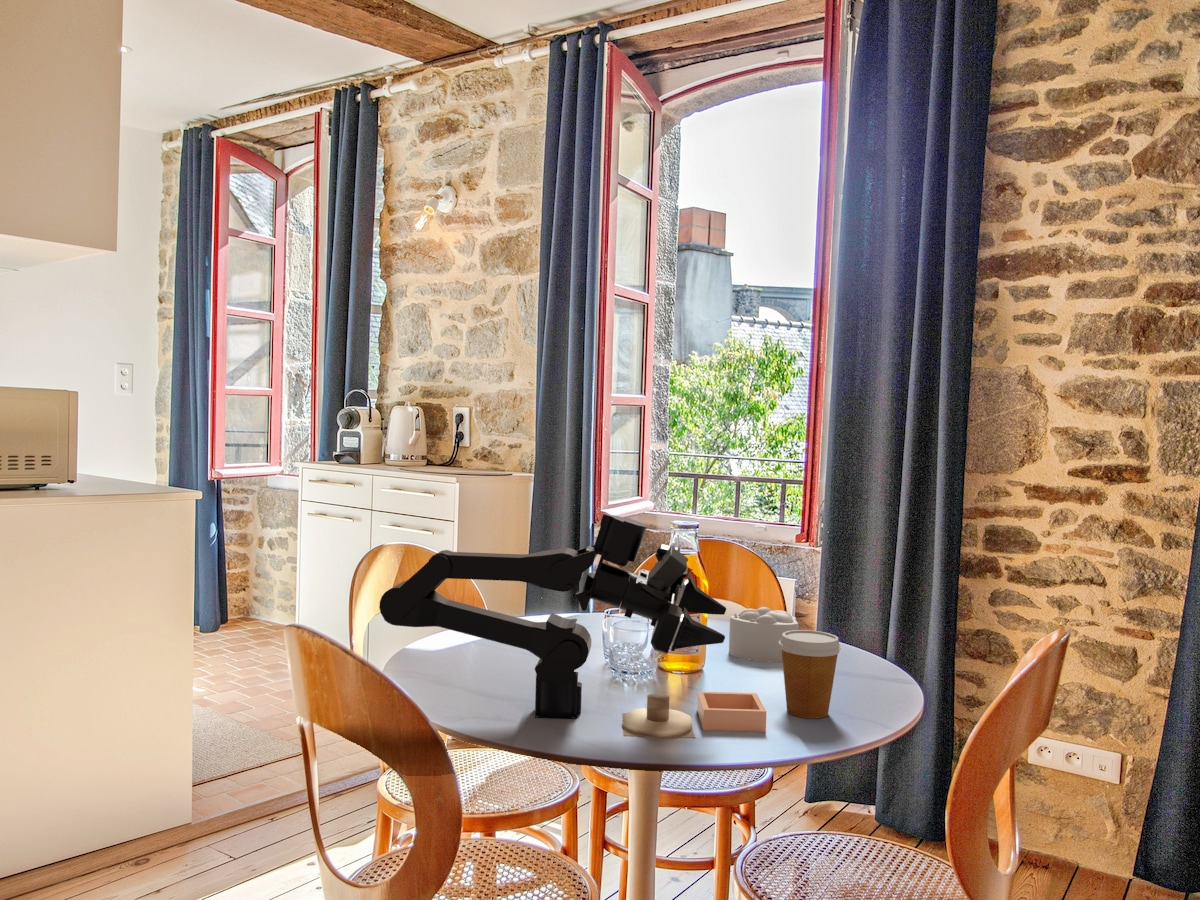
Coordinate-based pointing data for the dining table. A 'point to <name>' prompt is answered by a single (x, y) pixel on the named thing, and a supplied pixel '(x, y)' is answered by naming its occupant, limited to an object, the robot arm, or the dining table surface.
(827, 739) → the dining table surface
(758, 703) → the dish
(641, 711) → the lid
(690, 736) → the mat
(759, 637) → the lumpy-topped squat cylinder
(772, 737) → the dining table surface
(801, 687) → the disposable coffee cup
